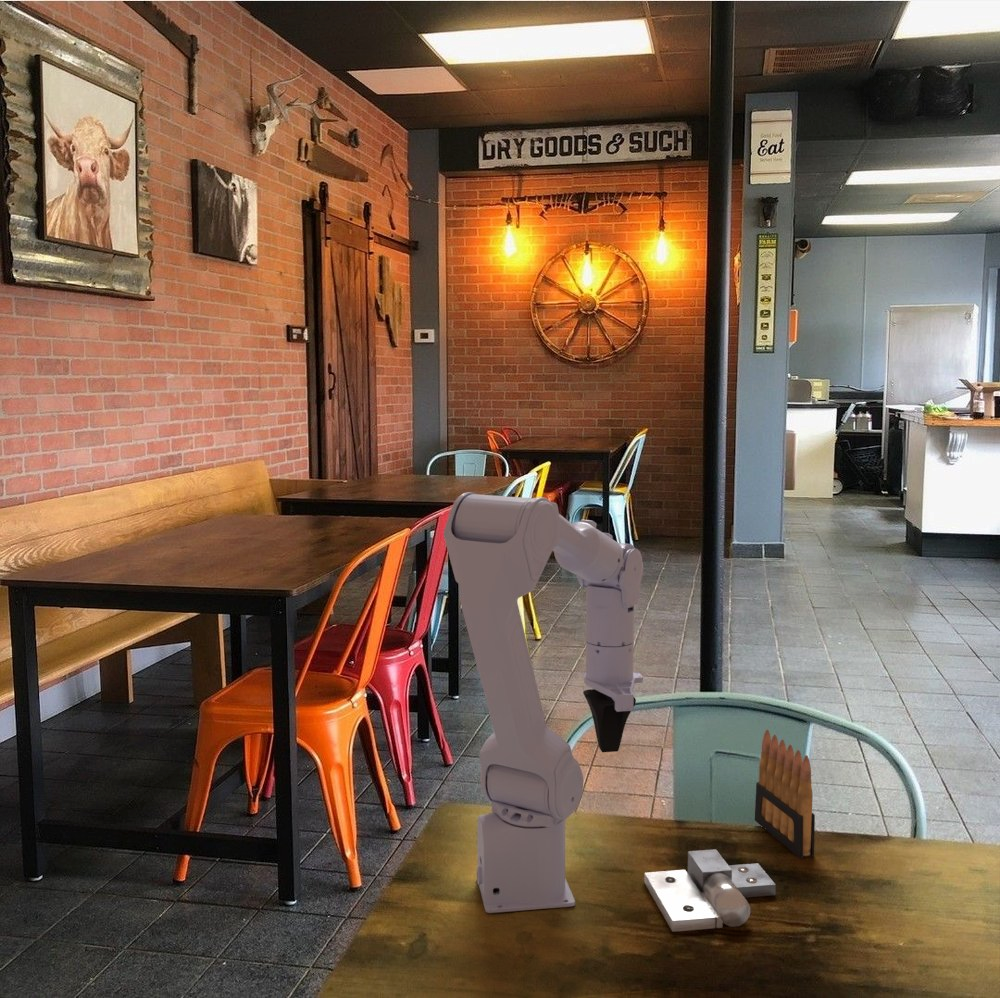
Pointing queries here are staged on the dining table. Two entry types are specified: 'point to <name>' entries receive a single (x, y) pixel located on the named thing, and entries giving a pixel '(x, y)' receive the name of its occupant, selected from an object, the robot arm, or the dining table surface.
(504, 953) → the dining table surface
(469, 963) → the dining table surface
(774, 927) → the dining table surface
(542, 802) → the robot arm
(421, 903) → the dining table surface
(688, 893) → the fixed leaf
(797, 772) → the ammunition clip
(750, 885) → the loose leaf
